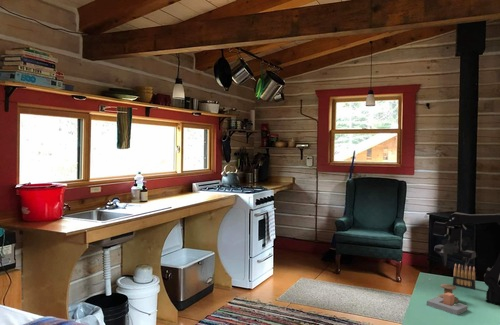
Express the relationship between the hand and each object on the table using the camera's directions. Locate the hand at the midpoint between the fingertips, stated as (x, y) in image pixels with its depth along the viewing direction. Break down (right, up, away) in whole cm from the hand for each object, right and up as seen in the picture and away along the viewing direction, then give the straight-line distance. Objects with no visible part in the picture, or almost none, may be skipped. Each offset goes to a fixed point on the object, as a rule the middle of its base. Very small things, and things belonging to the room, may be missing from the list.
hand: (454, 268), depth 208 cm
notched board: (-13, -13, -19) cm, 27 cm away
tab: (-12, -13, -18) cm, 26 cm away
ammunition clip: (+11, -13, +12) cm, 21 cm away
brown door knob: (-7, -13, -9) cm, 17 cm away
